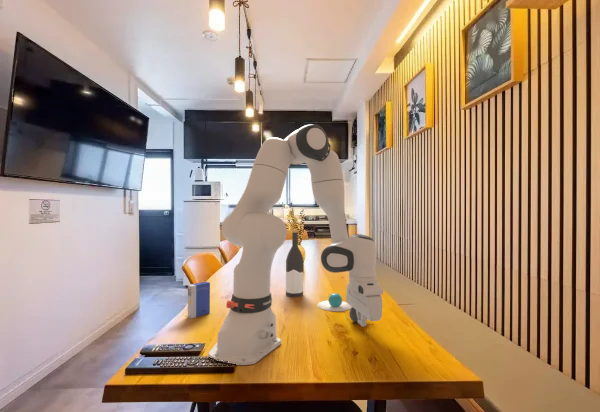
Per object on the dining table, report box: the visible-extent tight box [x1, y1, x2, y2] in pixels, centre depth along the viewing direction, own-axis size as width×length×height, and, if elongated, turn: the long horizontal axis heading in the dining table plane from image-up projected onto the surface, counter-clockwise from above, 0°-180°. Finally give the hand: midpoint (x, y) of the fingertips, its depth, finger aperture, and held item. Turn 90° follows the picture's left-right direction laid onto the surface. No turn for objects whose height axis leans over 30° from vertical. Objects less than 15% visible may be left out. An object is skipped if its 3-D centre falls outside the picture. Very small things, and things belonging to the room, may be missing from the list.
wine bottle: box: [285, 228, 305, 298], centre depth 150 cm, size 8×8×30 cm
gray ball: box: [348, 307, 359, 324], centre depth 116 cm, size 6×6×6 cm
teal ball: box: [328, 292, 343, 307], centre depth 132 cm, size 6×6×6 cm
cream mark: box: [317, 300, 352, 312], centre depth 134 cm, size 14×14×1 cm
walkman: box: [187, 280, 211, 319], centre depth 121 cm, size 8×3×12 cm, turn 139°
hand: (361, 324), depth 109 cm, fingers closed
